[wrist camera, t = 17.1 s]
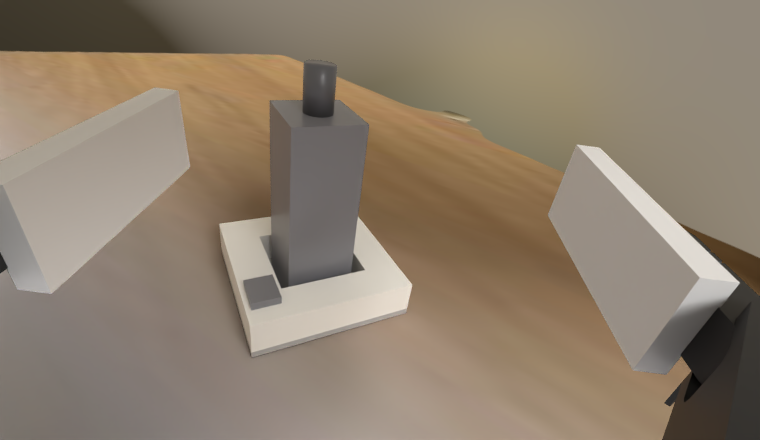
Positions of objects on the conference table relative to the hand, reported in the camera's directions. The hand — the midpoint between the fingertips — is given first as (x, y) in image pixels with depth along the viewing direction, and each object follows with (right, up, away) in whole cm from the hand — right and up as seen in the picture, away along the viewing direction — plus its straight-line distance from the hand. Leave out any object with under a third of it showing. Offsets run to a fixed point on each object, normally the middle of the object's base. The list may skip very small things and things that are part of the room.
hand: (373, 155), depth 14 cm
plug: (-6, -7, +20) cm, 22 cm away
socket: (-6, -7, +20) cm, 22 cm away
